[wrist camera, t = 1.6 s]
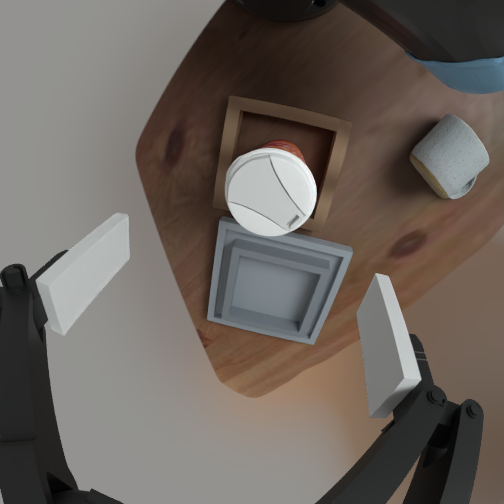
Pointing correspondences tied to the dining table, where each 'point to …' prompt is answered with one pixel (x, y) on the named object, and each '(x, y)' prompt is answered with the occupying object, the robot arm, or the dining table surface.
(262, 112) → the walnut collar
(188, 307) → the dining table surface
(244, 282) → the grey tray
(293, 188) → the paper cup
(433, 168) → the ceramic mug
